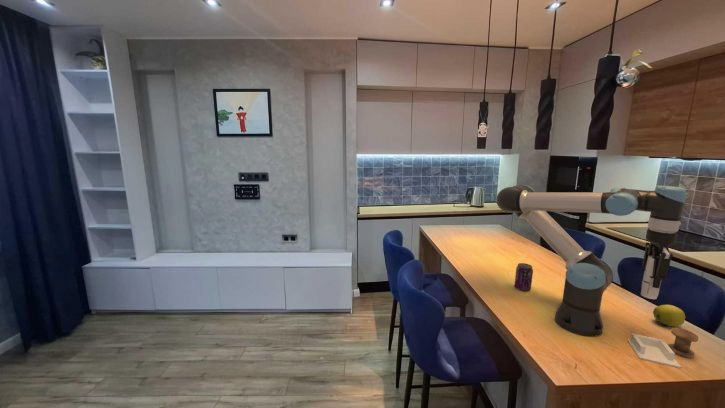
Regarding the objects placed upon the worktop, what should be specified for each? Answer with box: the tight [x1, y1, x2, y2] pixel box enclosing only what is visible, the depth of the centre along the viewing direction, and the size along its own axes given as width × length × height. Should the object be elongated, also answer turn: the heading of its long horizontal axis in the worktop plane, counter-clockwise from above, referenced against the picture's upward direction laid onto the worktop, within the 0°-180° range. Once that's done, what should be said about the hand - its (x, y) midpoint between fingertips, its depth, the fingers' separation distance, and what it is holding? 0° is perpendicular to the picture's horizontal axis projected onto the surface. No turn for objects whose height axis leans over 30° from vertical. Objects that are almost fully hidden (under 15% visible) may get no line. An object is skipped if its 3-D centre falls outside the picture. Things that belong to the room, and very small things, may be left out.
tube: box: [640, 256, 658, 300], centre depth 106 cm, size 4×4×15 cm
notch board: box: [627, 333, 682, 369], centre depth 98 cm, size 10×10×3 cm
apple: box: [652, 304, 686, 327], centre depth 113 cm, size 8×9×8 cm
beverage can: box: [514, 262, 534, 292], centre depth 142 cm, size 7×7×12 cm
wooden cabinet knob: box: [667, 327, 699, 359], centre depth 98 cm, size 6×6×7 cm
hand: (649, 291), depth 107 cm, fingers closed on tube, 4 cm apart
